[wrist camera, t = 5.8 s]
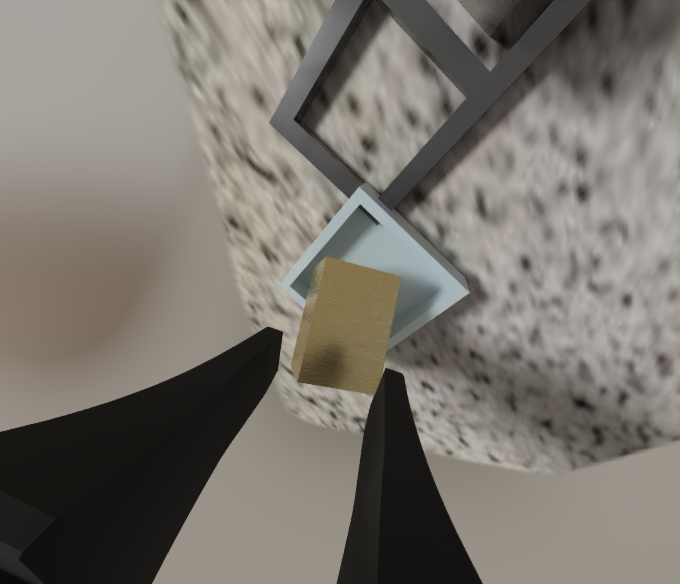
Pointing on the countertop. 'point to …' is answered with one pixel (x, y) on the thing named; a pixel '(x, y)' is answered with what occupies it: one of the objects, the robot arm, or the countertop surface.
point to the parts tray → (384, 261)
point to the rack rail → (443, 49)
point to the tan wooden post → (345, 326)
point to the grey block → (489, 12)
